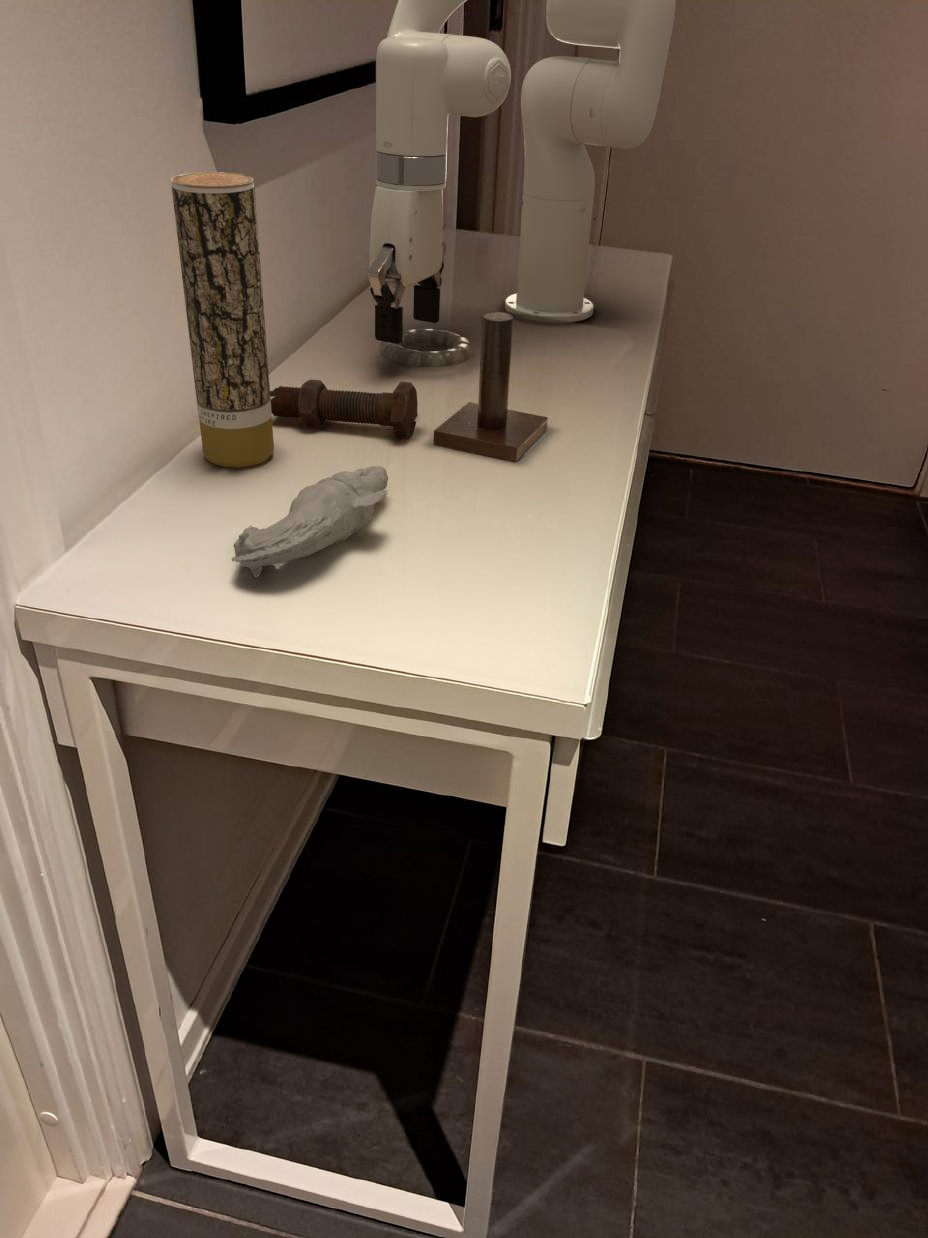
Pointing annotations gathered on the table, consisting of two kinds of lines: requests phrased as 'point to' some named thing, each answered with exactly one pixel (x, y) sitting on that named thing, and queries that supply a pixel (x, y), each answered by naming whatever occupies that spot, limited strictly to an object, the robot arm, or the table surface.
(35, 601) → the table surface
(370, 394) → the bolt
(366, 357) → the table surface
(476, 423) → the post
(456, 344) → the bracelet
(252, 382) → the paper tube
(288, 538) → the grey figurine
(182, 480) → the table surface
